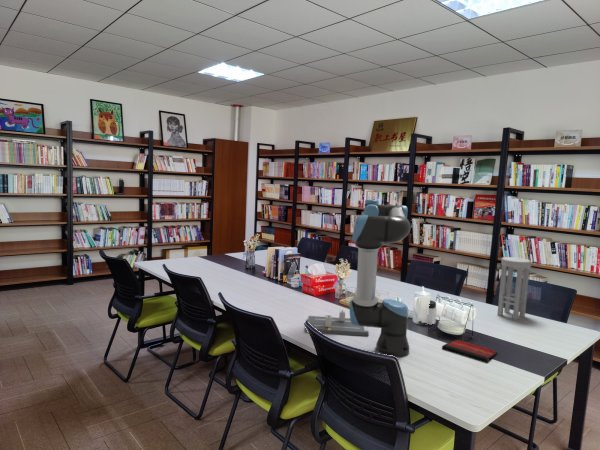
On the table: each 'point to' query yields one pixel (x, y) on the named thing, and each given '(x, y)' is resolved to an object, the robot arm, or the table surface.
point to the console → (337, 326)
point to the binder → (470, 350)
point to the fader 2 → (342, 315)
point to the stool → (520, 264)
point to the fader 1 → (328, 320)
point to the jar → (431, 313)
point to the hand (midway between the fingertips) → (368, 269)
